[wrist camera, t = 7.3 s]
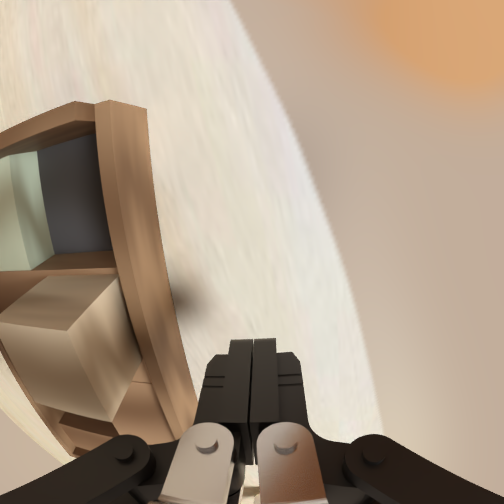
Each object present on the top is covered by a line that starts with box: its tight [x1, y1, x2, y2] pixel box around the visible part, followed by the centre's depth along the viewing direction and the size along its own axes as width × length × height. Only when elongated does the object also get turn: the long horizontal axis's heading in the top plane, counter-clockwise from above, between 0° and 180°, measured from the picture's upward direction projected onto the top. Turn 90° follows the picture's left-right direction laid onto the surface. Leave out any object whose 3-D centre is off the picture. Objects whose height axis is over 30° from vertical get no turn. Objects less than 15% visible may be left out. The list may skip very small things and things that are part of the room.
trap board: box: [0, 100, 198, 458], centre depth 13 cm, size 21×11×4 cm, turn 4°
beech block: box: [0, 274, 143, 422], centre depth 10 cm, size 4×4×4 cm
